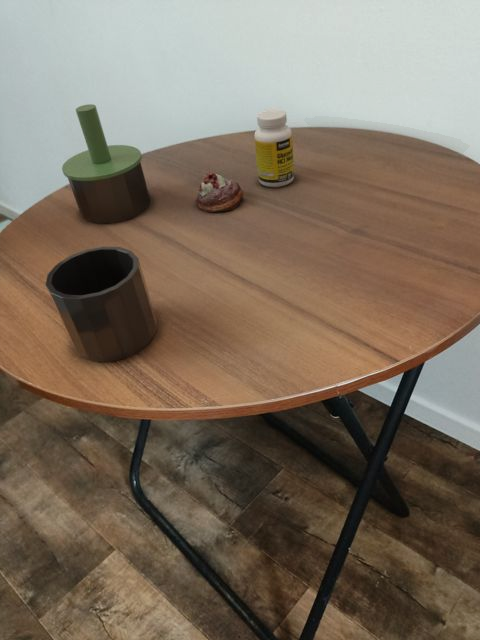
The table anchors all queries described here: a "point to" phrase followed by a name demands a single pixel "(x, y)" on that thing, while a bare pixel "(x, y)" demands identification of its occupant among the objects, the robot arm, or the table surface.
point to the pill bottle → (274, 149)
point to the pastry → (218, 193)
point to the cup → (103, 303)
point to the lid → (98, 152)
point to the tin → (112, 197)
